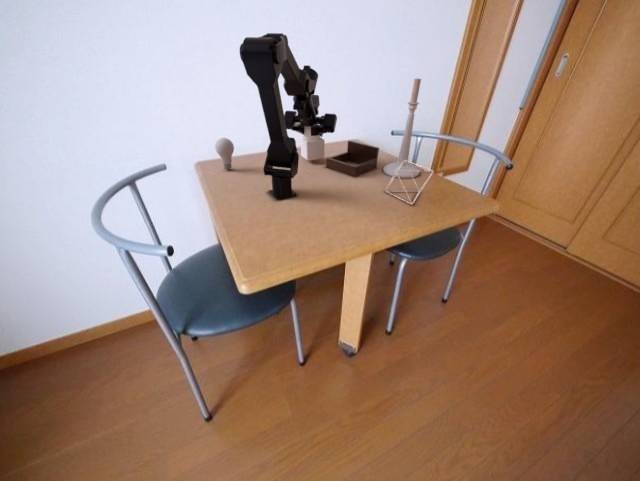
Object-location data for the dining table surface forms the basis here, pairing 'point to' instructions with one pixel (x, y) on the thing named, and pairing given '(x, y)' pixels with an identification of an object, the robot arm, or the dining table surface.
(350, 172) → the wooden holder
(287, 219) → the dining table surface
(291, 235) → the dining table surface
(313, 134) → the medicine bottle
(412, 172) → the candlestick
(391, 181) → the geometric polyhedron
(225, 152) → the lightbulb
